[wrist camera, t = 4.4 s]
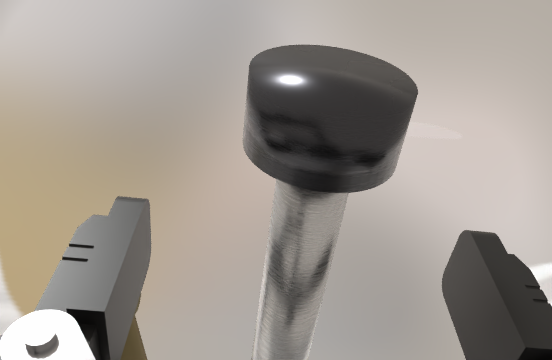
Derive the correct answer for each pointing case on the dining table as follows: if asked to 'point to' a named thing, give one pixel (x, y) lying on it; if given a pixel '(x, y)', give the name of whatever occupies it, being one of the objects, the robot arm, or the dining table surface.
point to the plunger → (315, 170)
